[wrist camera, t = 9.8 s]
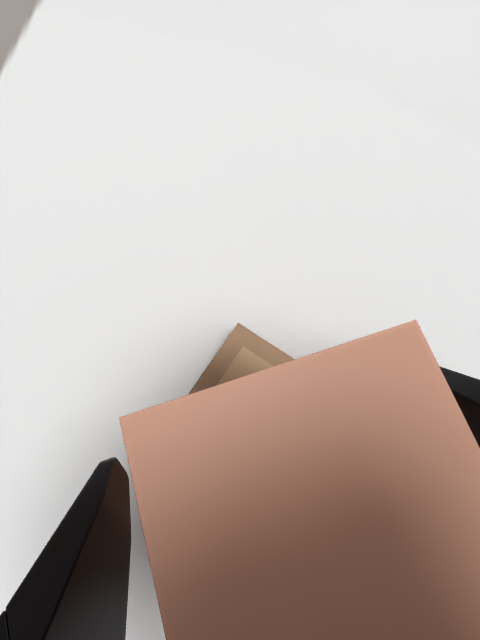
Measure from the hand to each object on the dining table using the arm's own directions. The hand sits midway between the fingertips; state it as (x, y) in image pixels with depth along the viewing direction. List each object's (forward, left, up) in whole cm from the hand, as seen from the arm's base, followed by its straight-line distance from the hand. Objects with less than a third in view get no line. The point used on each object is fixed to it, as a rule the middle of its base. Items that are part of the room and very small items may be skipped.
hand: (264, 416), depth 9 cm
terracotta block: (-1, -1, -7) cm, 7 cm away
